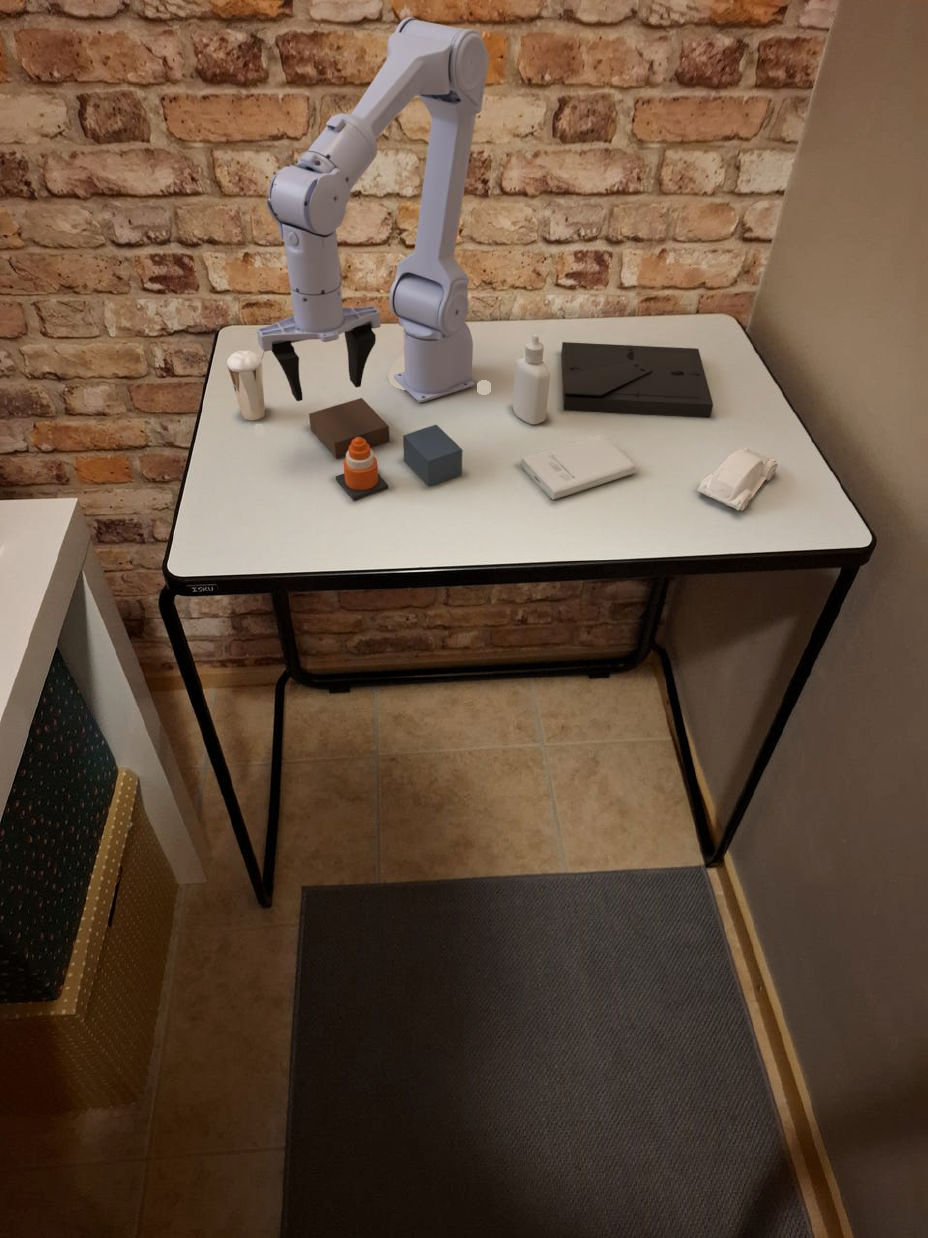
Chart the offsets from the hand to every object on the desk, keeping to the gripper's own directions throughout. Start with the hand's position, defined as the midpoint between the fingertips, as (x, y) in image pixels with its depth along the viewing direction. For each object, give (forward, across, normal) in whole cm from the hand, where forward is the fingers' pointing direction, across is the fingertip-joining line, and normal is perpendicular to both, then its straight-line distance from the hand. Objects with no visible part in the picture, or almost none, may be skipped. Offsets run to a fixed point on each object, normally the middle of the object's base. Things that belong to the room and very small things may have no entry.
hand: (326, 389), depth 107 cm
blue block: (+9, +10, -9) cm, 17 cm away
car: (+10, +45, -28) cm, 54 cm away
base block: (+9, +3, +3) cm, 10 cm away
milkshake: (+10, -7, +13) cm, 17 cm away
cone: (+9, +1, -8) cm, 12 cm away
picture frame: (+10, +46, -2) cm, 47 cm away
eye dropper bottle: (+10, +28, -3) cm, 30 cm away
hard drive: (+10, +27, -17) cm, 34 cm away
